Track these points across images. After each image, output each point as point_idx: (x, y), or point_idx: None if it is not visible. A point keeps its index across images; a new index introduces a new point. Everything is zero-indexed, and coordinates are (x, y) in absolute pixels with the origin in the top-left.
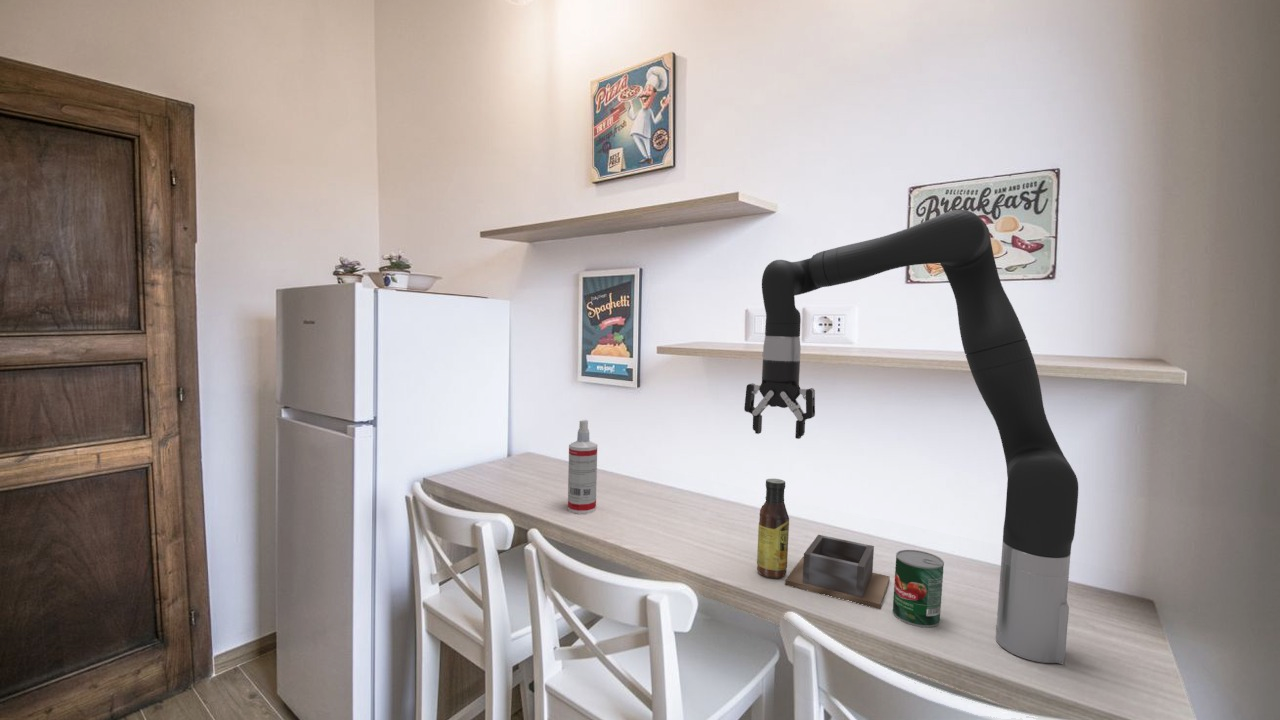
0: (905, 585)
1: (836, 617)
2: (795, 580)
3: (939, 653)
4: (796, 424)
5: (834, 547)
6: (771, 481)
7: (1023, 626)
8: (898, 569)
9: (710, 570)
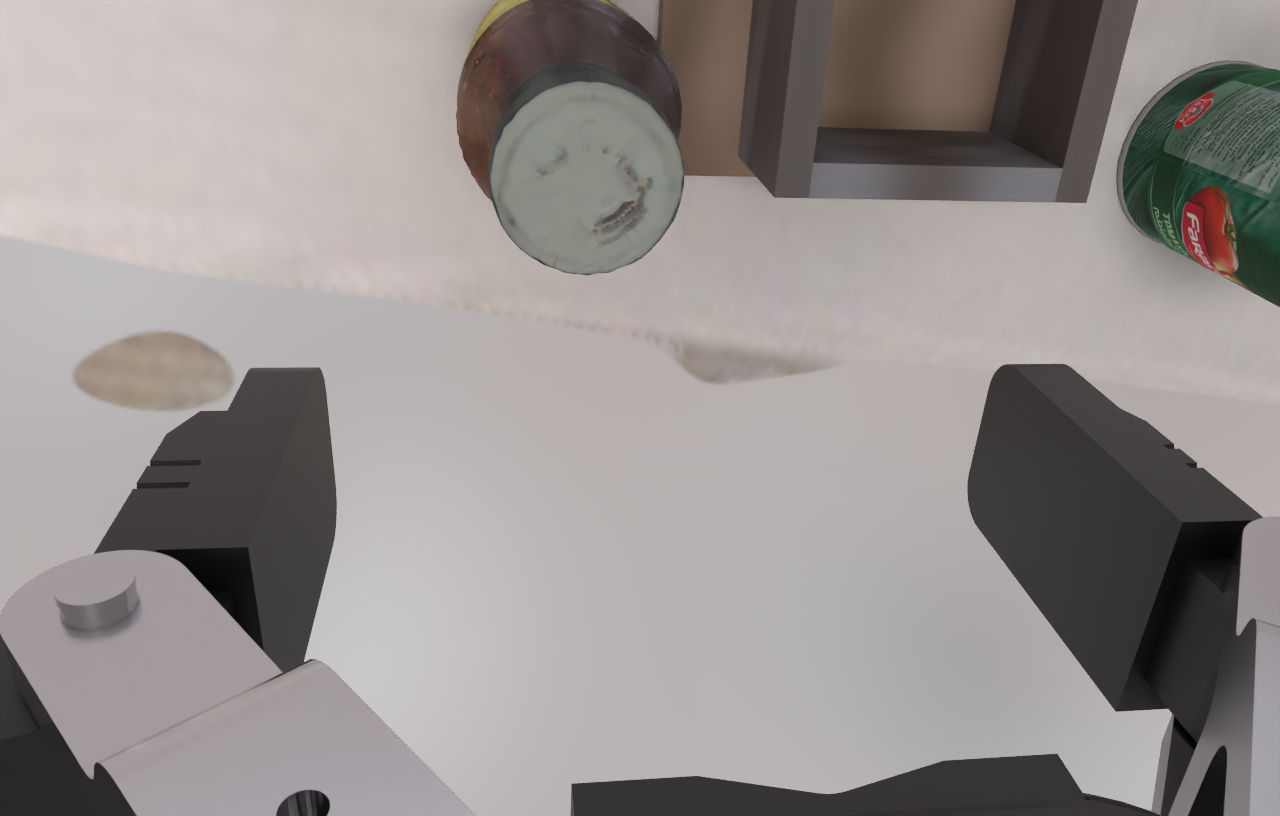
0: (1243, 286)
1: (896, 340)
2: (701, 149)
3: (1217, 388)
4: (1087, 662)
5: None
6: (562, 242)
7: None
8: (1258, 275)
9: (258, 215)
